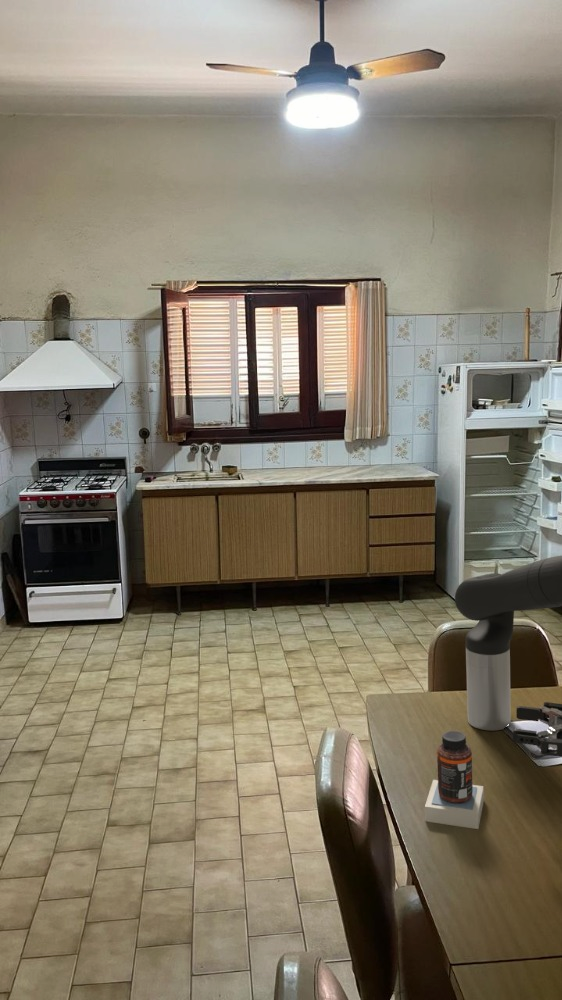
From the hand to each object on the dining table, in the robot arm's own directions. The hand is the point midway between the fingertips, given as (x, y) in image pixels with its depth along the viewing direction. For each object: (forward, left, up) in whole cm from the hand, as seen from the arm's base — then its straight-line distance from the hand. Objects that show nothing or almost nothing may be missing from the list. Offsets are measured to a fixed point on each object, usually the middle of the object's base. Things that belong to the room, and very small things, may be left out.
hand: (514, 723), depth 129 cm
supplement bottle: (+2, -10, -14) cm, 17 cm away
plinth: (+2, -10, -17) cm, 20 cm away
